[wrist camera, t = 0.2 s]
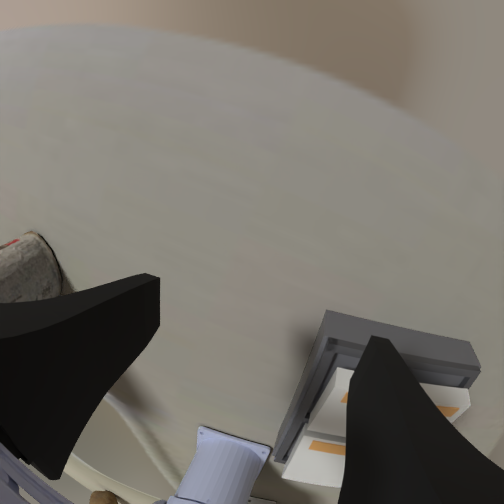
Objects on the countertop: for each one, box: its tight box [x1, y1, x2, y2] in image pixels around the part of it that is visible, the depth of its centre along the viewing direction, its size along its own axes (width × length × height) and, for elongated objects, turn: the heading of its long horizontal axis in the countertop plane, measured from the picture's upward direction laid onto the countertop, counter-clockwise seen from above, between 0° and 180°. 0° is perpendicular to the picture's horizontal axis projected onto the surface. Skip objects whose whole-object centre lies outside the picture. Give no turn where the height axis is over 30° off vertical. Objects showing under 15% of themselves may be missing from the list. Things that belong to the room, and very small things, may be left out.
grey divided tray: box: [272, 310, 481, 464], centre depth 20 cm, size 15×12×4 cm
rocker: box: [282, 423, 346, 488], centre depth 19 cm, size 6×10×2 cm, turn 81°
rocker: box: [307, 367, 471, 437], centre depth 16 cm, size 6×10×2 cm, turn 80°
